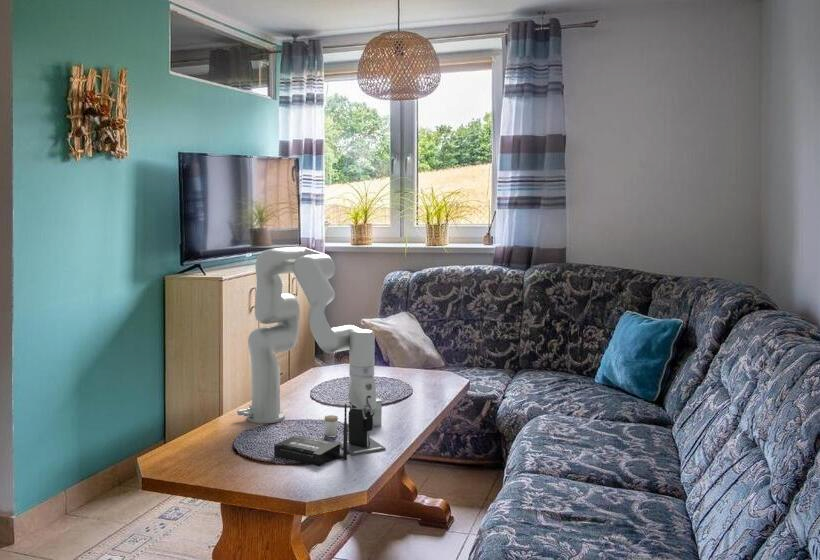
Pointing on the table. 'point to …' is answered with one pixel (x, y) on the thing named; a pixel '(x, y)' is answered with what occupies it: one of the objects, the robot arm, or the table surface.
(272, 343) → the robot arm
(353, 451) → the mat
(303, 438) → the black router
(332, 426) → the white cylinder
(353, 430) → the battery charger
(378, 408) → the wall box
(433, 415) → the table surface
